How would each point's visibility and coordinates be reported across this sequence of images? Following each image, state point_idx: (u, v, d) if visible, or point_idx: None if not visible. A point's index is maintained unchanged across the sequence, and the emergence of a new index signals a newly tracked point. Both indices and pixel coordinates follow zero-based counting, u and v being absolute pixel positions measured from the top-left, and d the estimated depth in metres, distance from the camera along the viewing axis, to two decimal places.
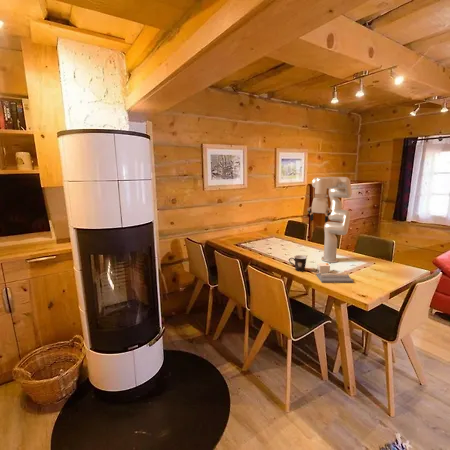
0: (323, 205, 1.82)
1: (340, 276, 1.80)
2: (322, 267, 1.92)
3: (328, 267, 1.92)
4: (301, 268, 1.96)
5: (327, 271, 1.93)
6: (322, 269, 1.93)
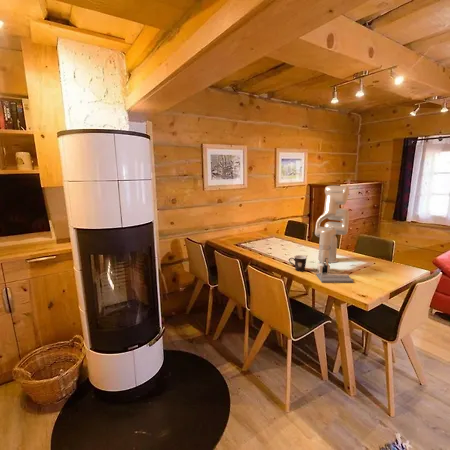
0: None
1: (340, 276, 1.80)
2: (322, 267, 1.92)
3: (328, 267, 1.92)
4: (301, 268, 1.96)
5: (327, 271, 1.93)
6: (322, 269, 1.93)
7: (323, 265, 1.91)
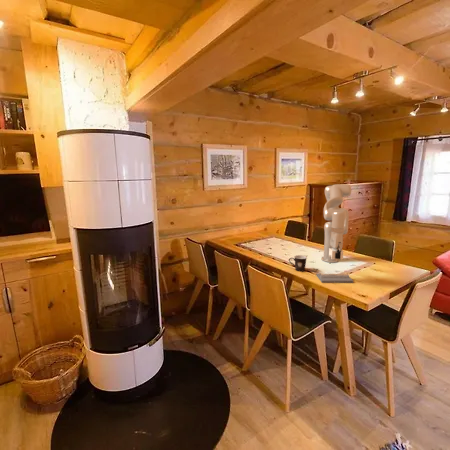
0: None
1: (340, 276, 1.80)
2: (334, 253, 1.76)
3: (341, 252, 1.75)
4: (301, 268, 1.96)
5: (340, 256, 1.76)
6: None
7: (336, 250, 1.74)
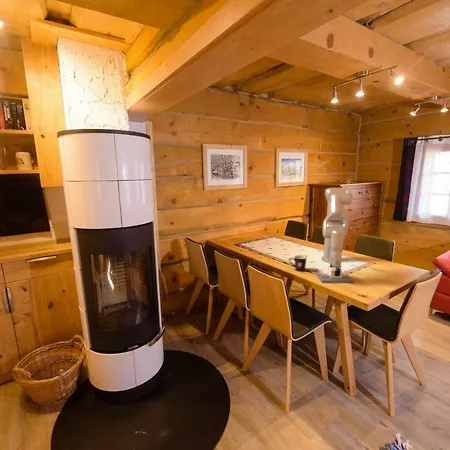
0: None
1: None
2: (333, 272, 1.78)
3: (340, 272, 1.78)
4: (301, 268, 1.96)
5: (338, 276, 1.79)
6: (334, 274, 1.78)
7: (335, 268, 1.75)
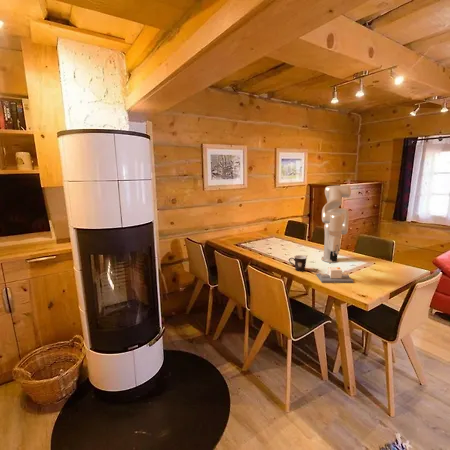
0: None
1: None
2: (333, 272, 1.78)
3: (340, 272, 1.78)
4: (301, 268, 1.96)
5: (338, 276, 1.79)
6: (334, 274, 1.78)
7: (333, 253, 1.76)
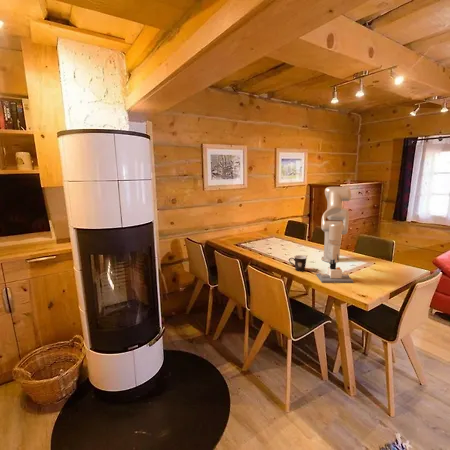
0: None
1: None
2: (333, 272, 1.78)
3: (340, 272, 1.78)
4: (301, 268, 1.96)
5: (338, 276, 1.79)
6: (334, 274, 1.78)
7: (332, 261, 1.78)
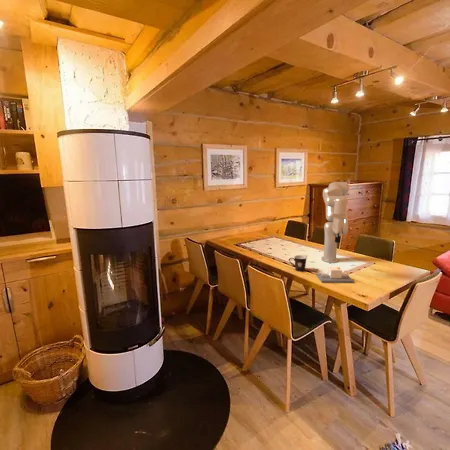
0: None
1: None
2: (333, 272, 1.78)
3: (340, 272, 1.78)
4: (301, 268, 1.96)
5: (338, 276, 1.79)
6: (334, 274, 1.78)
7: (336, 235, 1.85)
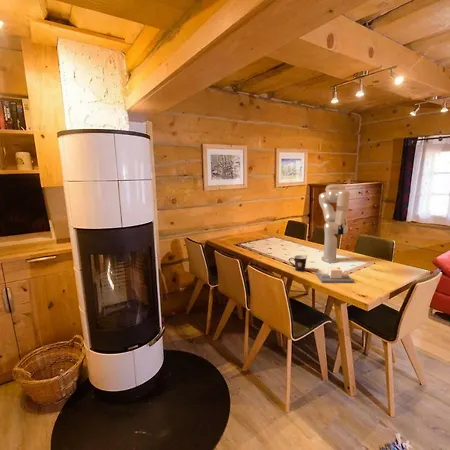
0: None
1: None
2: (333, 272, 1.78)
3: (340, 272, 1.78)
4: (301, 268, 1.96)
5: (338, 276, 1.79)
6: (334, 274, 1.78)
7: (339, 227, 1.90)
